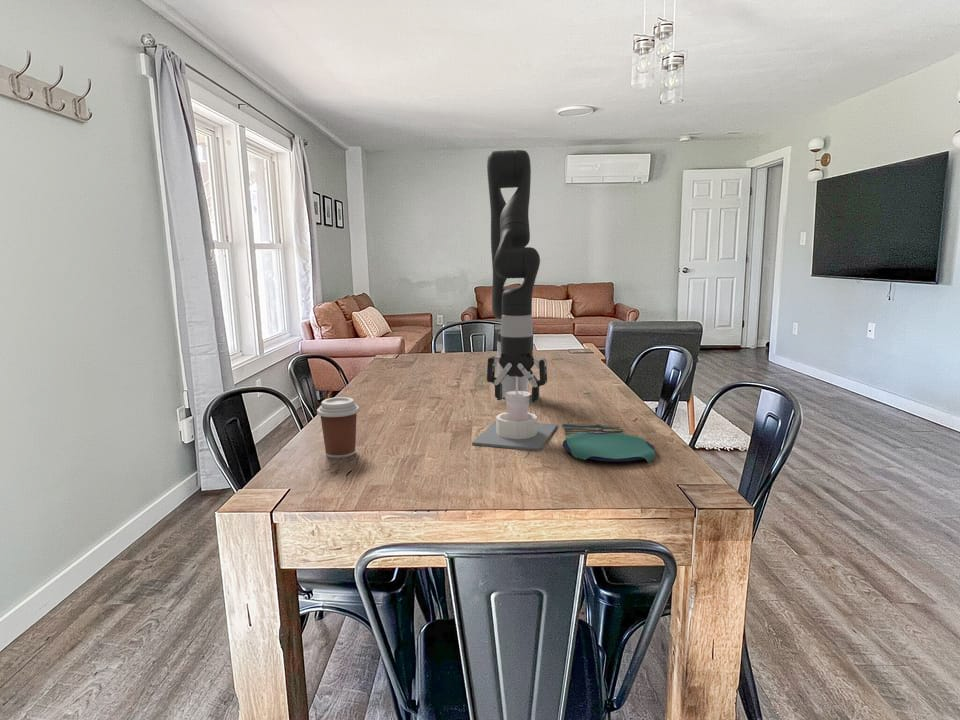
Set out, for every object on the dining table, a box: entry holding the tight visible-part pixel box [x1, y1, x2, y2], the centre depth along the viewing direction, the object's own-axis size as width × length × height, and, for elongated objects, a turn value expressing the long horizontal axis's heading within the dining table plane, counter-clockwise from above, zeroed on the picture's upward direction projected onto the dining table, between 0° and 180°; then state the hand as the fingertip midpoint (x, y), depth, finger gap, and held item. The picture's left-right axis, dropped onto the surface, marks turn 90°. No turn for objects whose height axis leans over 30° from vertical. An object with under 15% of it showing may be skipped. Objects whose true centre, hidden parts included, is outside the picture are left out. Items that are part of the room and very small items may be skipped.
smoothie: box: [504, 376, 532, 422], centre depth 139 cm, size 6×6×14 cm
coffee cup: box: [316, 396, 360, 459], centre depth 128 cm, size 9×9×12 cm
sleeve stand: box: [471, 412, 558, 452], centre depth 140 cm, size 20×16×5 cm
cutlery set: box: [562, 422, 656, 464], centre depth 133 cm, size 20×30×2 cm, turn 178°
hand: (516, 400), depth 139 cm, fingers open, 8 cm apart
